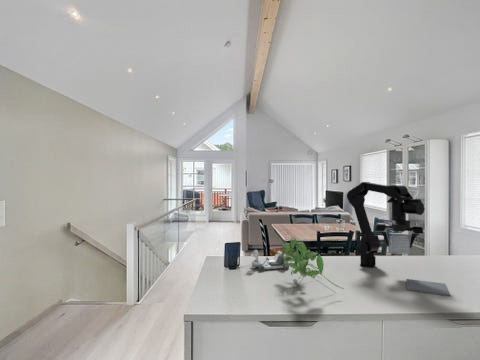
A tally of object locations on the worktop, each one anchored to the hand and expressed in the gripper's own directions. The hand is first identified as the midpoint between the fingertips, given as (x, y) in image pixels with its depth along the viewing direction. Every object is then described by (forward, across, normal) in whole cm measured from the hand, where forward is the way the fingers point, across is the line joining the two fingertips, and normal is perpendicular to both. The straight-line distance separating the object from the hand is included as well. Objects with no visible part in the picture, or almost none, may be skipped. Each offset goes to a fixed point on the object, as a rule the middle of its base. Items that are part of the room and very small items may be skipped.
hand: (398, 247), depth 139 cm
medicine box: (+3, 0, 0) cm, 3 cm away
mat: (+12, +10, -14) cm, 21 cm away
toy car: (+13, -58, -15) cm, 61 cm away
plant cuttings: (+13, -33, -34) cm, 49 cm away
